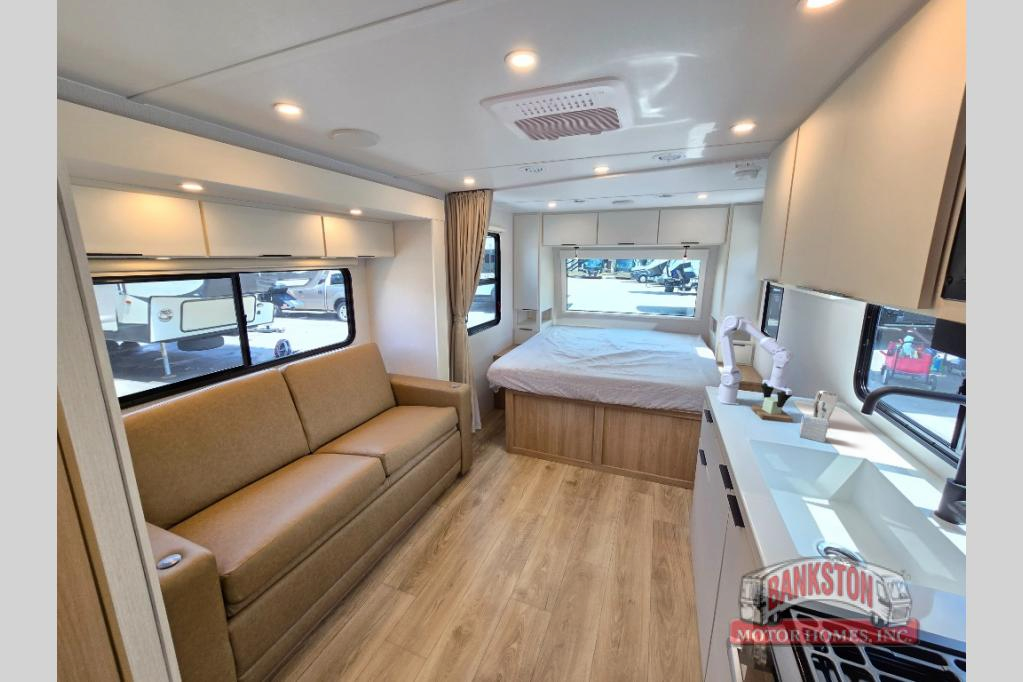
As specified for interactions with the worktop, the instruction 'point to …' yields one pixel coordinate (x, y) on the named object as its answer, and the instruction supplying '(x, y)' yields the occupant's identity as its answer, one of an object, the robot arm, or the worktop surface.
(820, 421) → the medicine box
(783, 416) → the walnut base
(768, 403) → the sage block
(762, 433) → the worktop surface
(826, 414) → the beer glass
